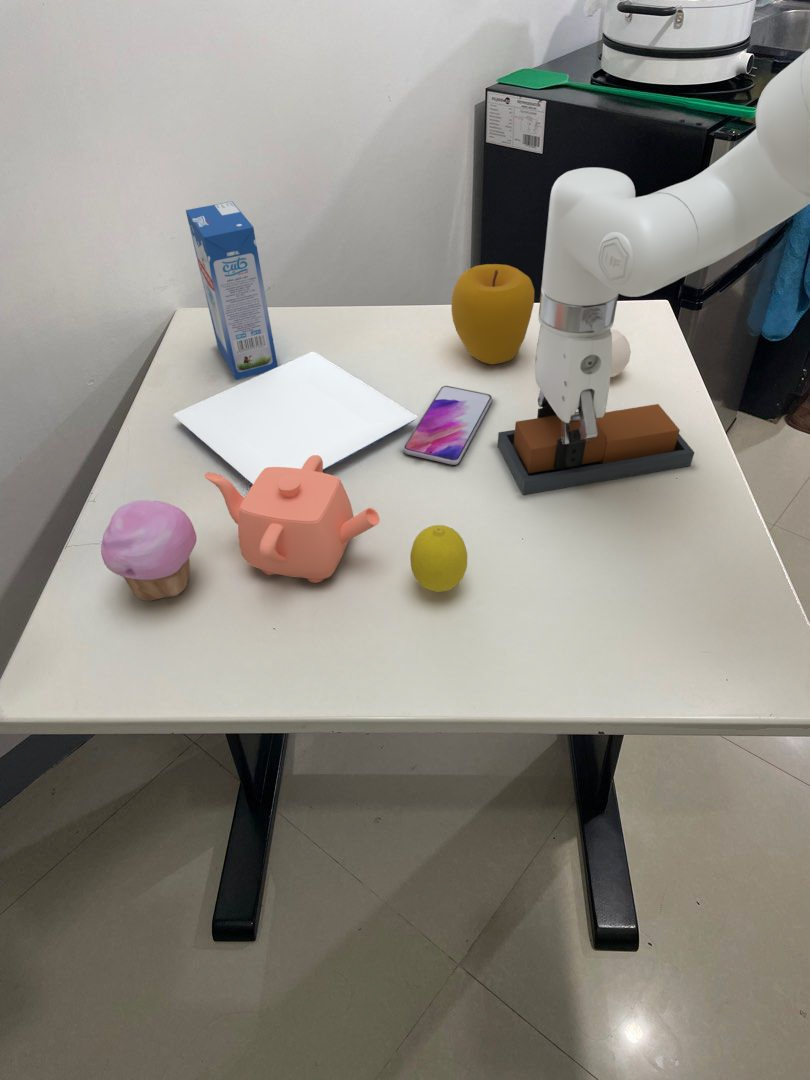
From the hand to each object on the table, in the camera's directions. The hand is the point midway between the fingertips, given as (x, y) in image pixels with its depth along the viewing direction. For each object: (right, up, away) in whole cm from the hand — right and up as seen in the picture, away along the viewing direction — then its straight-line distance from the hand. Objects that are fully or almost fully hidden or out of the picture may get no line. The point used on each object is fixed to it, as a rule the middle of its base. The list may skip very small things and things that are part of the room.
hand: (558, 449), depth 86 cm
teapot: (-29, -12, -8) cm, 33 cm away
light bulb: (+7, +13, +16) cm, 22 cm away
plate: (-32, +4, +8) cm, 33 cm away
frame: (+5, 0, +2) cm, 5 cm away
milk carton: (-41, +16, +21) cm, 49 cm away
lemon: (-15, -15, -12) cm, 24 cm away
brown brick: (0, 0, 0) cm, 0 cm away
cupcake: (-42, -15, -11) cm, 46 cm away
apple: (-6, +16, +19) cm, 25 cm away
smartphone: (-12, +4, +7) cm, 15 cm away
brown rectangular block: (+9, +1, +2) cm, 9 cm away
